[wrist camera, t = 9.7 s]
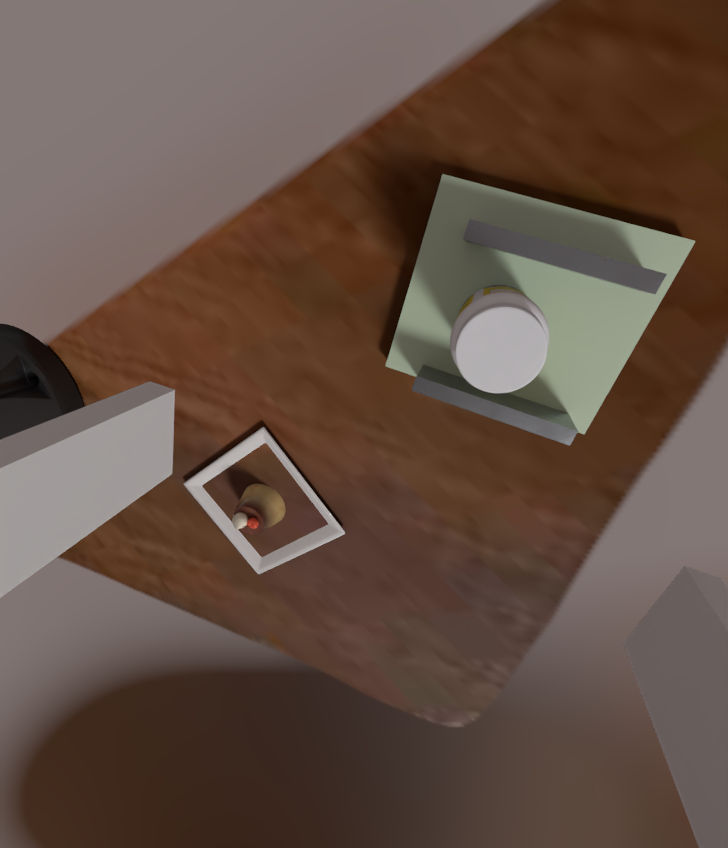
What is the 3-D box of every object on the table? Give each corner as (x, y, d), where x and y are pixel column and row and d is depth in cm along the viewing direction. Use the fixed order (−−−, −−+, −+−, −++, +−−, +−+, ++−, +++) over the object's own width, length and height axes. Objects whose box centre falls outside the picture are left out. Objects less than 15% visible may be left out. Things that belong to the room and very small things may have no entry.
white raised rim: (349, 526, 37) (331, 561, 33) (263, 567, 42) (238, 602, 38) (269, 421, 35) (239, 444, 31) (189, 478, 40) (154, 504, 36)
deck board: (389, 362, 30) (385, 366, 28) (444, 177, 24) (442, 173, 23) (580, 427, 28) (584, 434, 26) (685, 241, 22) (695, 240, 21)
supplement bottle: (474, 372, 27) (469, 416, 19) (444, 307, 26) (427, 328, 18) (547, 340, 25) (574, 376, 18) (518, 269, 24) (533, 275, 16)
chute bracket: (419, 377, 28) (411, 390, 25) (471, 223, 24) (469, 218, 21) (561, 426, 27) (569, 445, 24) (645, 271, 22) (667, 274, 20)
